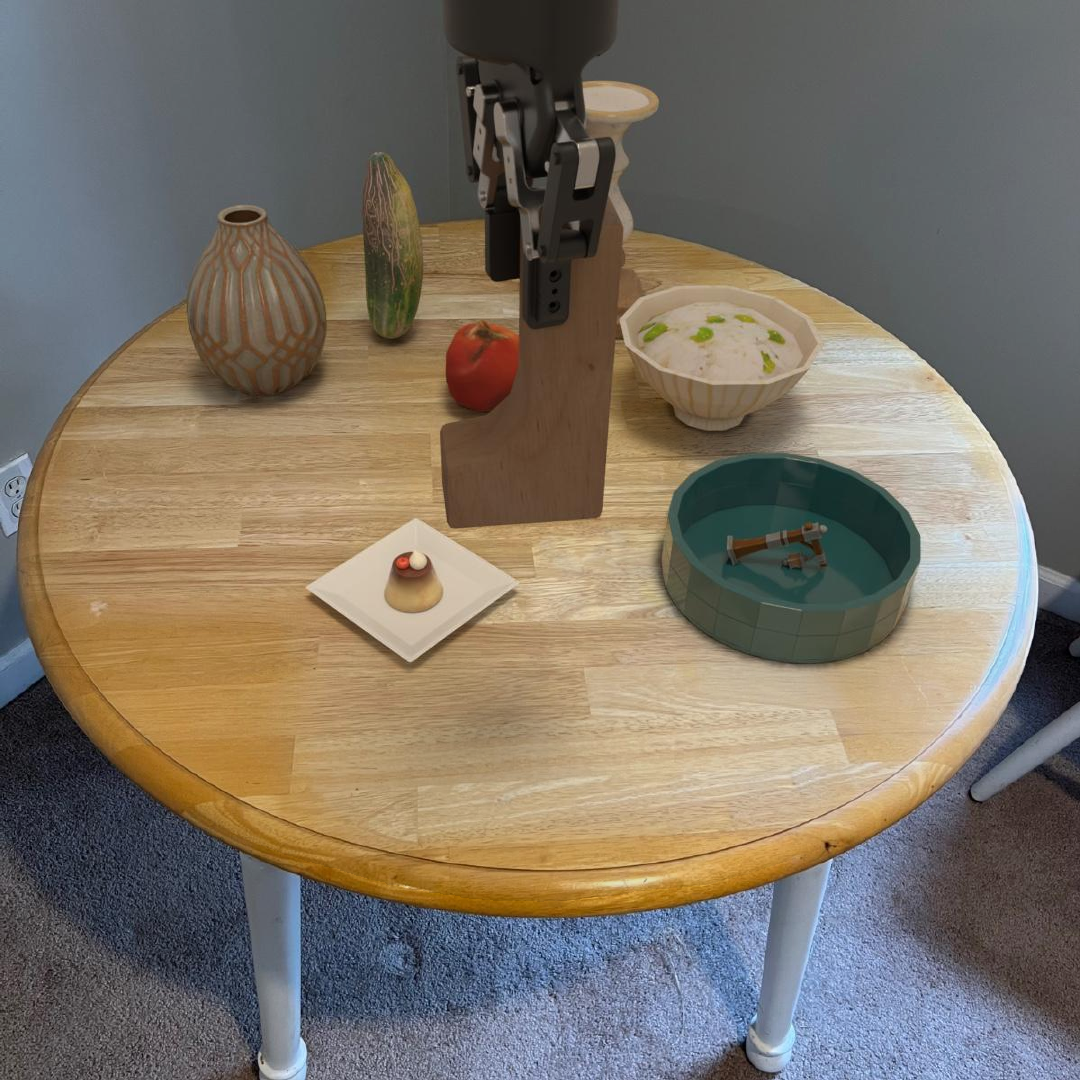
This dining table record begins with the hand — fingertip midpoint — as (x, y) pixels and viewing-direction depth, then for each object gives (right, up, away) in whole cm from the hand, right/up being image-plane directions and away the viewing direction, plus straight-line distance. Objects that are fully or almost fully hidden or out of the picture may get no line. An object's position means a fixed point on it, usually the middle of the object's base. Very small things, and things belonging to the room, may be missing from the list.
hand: (525, 298), depth 56 cm
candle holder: (+7, +13, +68) cm, 69 cm away
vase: (-27, +4, +56) cm, 62 cm away
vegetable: (-14, +10, +63) cm, 65 cm away
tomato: (-4, +2, +54) cm, 54 cm away
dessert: (-9, -17, +31) cm, 37 cm away
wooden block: (0, -10, +9) cm, 14 cm away
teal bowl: (+21, -15, +34) cm, 43 cm away
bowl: (+18, 0, +53) cm, 56 cm away
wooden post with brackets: (+20, -14, +35) cm, 43 cm away
